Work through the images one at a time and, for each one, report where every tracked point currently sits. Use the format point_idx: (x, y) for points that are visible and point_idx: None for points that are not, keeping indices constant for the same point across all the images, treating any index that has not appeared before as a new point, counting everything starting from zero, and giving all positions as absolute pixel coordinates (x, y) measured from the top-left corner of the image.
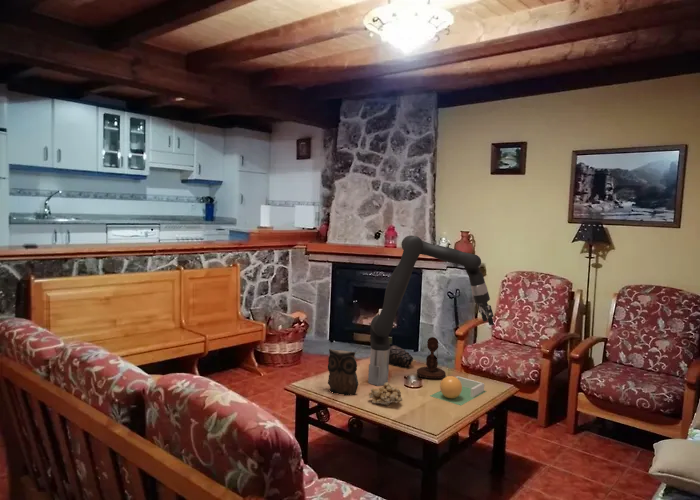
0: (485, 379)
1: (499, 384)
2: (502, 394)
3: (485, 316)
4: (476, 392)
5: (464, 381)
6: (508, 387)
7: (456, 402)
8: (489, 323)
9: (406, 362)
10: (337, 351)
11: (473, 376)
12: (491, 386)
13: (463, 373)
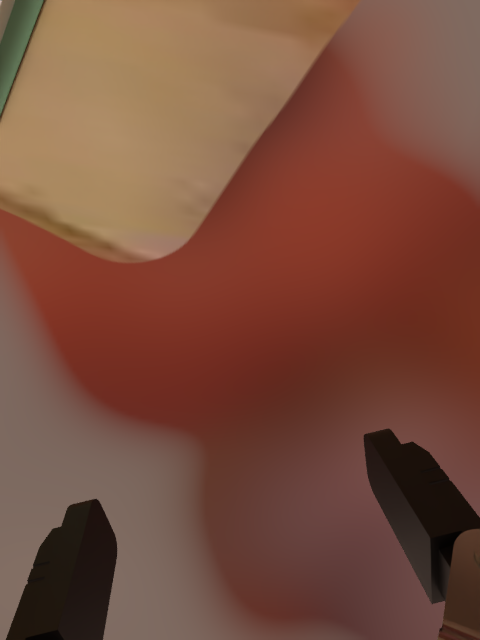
0: (241, 152)
1: (172, 216)
2: (4, 209)
3: (402, 539)
4: None
5: None
6: (137, 252)
7: None
8: (62, 534)
9: None
10: None
11: (288, 80)
12: (121, 169)
13: (346, 9)
